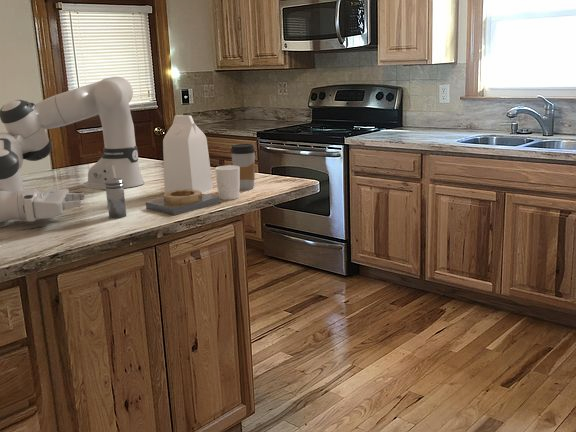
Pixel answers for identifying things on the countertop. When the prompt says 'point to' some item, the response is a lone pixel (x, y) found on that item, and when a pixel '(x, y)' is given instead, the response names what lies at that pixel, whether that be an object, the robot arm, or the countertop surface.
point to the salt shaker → (115, 198)
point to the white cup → (228, 181)
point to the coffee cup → (244, 164)
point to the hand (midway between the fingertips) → (82, 199)
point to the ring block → (182, 201)
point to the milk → (186, 157)
